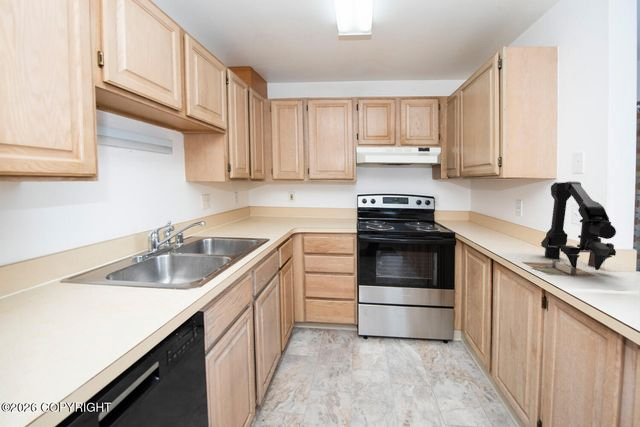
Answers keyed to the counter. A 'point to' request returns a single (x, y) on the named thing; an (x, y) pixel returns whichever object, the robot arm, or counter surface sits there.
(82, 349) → the counter surface
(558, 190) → the robot arm
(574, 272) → the dial lever
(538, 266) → the dial board
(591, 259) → the box
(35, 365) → the counter surface
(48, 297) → the counter surface
